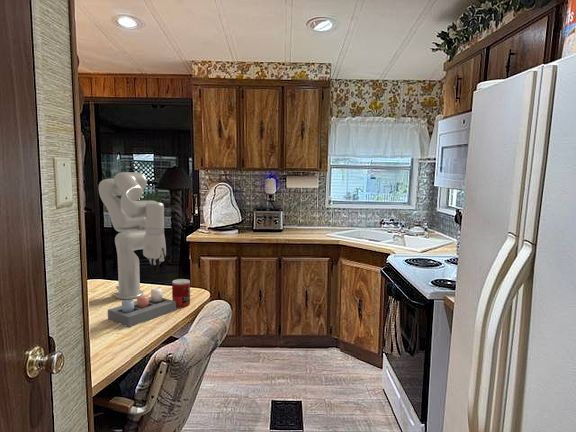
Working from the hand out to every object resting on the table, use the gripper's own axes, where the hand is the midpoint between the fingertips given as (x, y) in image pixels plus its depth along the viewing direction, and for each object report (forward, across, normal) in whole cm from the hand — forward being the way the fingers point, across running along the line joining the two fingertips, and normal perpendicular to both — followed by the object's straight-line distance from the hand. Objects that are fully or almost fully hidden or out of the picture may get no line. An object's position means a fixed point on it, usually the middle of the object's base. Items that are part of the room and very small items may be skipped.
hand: (155, 273), depth 165 cm
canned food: (+17, +3, +11) cm, 20 cm away
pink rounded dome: (+13, +1, -7) cm, 15 cm away
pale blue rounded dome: (+13, +1, -14) cm, 19 cm away
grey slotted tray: (+16, +1, -7) cm, 18 cm away
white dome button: (+12, +1, 0) cm, 12 cm away
